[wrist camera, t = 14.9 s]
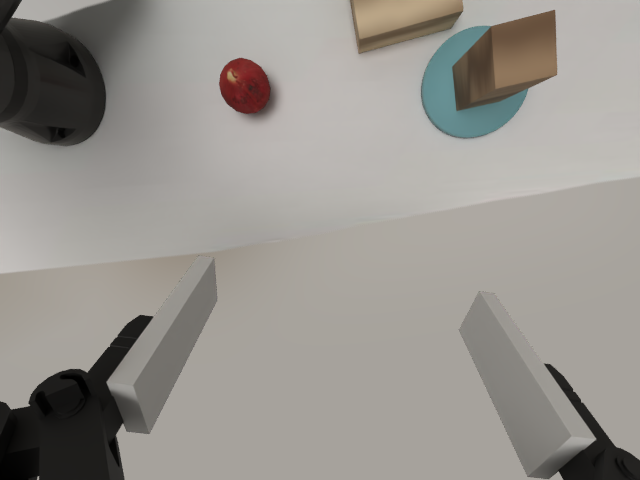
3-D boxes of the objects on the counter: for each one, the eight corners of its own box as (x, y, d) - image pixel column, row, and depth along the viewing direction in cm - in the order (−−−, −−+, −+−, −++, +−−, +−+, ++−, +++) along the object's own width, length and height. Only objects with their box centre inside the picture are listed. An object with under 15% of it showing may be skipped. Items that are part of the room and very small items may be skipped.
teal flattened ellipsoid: (404, 115, 38) (405, 113, 36) (451, 13, 34) (454, 8, 33) (490, 153, 37) (494, 152, 36) (545, 54, 34) (551, 50, 33)
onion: (284, 88, 38) (267, 67, 30) (262, 127, 40) (240, 116, 32) (247, 61, 38) (221, 33, 30) (226, 101, 39) (195, 84, 32)
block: (500, 101, 35) (557, 74, 25) (456, 111, 36) (495, 88, 26) (497, 55, 34) (555, 9, 24) (452, 66, 35) (491, 26, 25)
